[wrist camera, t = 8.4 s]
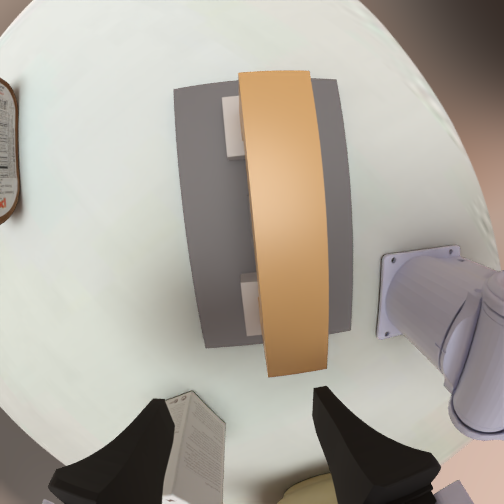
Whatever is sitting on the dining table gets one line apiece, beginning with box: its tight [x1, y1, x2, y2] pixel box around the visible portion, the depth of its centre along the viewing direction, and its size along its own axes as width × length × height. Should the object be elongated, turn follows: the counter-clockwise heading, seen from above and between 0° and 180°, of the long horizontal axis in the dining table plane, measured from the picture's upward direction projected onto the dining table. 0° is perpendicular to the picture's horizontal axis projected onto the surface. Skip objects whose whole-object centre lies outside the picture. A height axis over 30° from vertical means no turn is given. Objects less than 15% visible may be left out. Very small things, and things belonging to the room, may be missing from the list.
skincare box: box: [162, 391, 226, 504], centre depth 18 cm, size 6×4×12 cm
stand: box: [174, 78, 353, 348], centre depth 18 cm, size 12×20×4 cm, turn 5°
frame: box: [238, 71, 329, 377], centre depth 14 cm, size 3×14×6 cm, turn 6°
